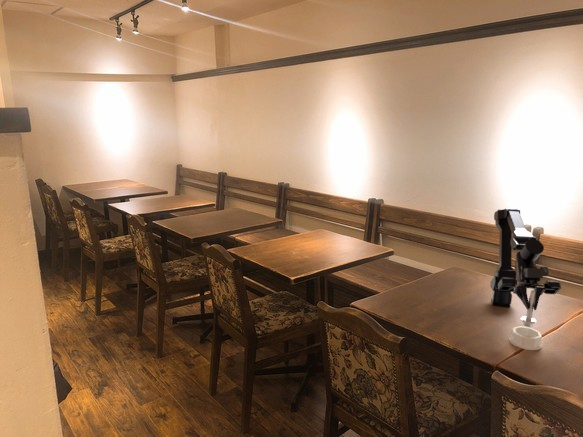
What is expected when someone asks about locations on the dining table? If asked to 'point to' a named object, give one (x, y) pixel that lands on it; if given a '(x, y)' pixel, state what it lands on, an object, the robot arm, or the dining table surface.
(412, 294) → the dining table surface
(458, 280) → the dining table surface
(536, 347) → the white pet bowl
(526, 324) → the screw
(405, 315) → the dining table surface
